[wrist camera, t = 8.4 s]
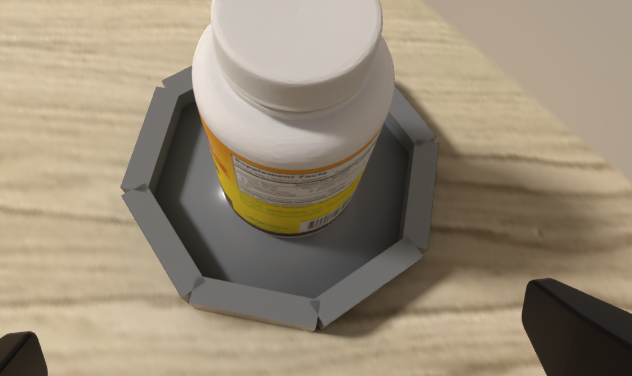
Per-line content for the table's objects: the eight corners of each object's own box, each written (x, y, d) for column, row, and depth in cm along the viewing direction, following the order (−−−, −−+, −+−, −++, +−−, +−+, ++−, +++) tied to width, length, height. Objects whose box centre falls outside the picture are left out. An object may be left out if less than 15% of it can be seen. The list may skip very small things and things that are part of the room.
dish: (479, 218, 21) (494, 206, 20) (238, 388, 18) (235, 389, 17) (321, 22, 24) (324, -1, 23) (91, 140, 21) (78, 122, 20)
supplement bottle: (243, 105, 22) (219, -107, 12) (366, 137, 22) (438, -51, 12) (201, 222, 20) (134, 77, 10) (336, 259, 20) (394, 146, 10)
